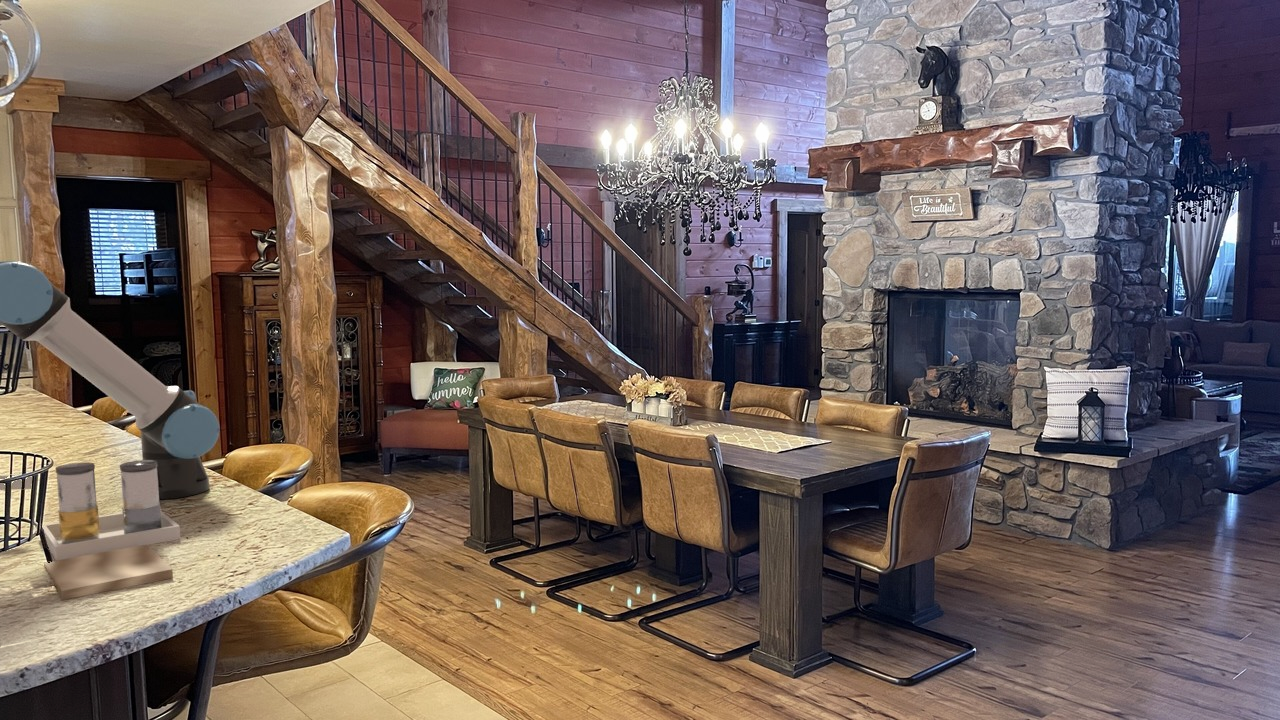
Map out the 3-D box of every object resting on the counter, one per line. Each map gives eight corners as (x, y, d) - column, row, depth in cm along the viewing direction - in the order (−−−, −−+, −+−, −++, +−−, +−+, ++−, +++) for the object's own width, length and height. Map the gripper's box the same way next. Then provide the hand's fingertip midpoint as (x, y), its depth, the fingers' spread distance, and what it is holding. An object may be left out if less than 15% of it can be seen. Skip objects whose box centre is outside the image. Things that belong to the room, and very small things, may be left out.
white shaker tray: (157, 524, 193) (156, 507, 193) (180, 544, 180) (179, 525, 179) (41, 543, 181) (40, 525, 180) (56, 566, 167) (55, 547, 167)
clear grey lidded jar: (157, 530, 186) (153, 458, 184) (165, 537, 181) (161, 464, 179) (121, 536, 182) (116, 463, 180) (128, 544, 177) (123, 469, 175)
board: (147, 552, 175) (146, 544, 175) (172, 577, 161) (172, 569, 161) (44, 571, 165) (44, 562, 165) (62, 600, 151) (61, 590, 151)
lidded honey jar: (96, 533, 184) (91, 461, 182) (102, 540, 179) (97, 466, 177) (58, 539, 180) (52, 465, 178) (63, 547, 175) (58, 471, 174)
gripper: (-71, 497, 186) (48, 493, 189) (-156, 533, 161) (-17, 528, 165) (-74, 459, 185) (46, 455, 189) (-159, 489, 161) (-20, 485, 164)
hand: (17, 489), depth 177 cm, fingers open, 13 cm apart
